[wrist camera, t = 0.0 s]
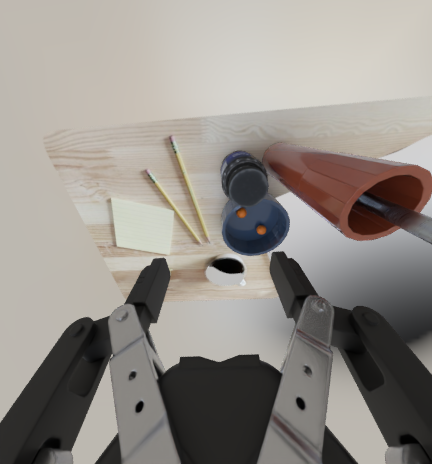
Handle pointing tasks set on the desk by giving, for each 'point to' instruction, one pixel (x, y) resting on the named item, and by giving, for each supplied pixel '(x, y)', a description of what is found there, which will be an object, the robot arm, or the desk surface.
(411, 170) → the crock
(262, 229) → the bead
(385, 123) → the desk surface
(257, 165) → the pill bottle
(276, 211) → the bowl
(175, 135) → the desk surface
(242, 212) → the bead
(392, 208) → the ladle
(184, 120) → the desk surface
